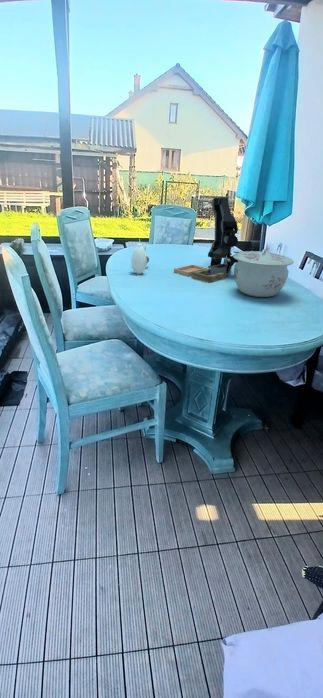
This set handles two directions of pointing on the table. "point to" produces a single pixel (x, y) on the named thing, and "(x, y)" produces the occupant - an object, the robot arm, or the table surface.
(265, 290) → the chamber pot
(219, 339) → the table surface
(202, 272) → the dock
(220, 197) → the robot arm
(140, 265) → the sauce bottle
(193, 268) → the tray
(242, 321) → the table surface
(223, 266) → the caddy
